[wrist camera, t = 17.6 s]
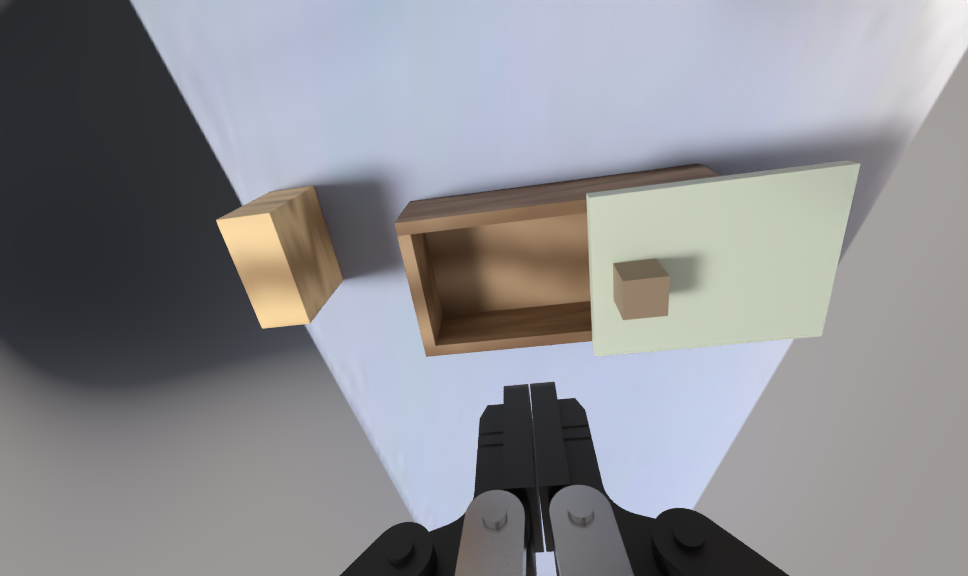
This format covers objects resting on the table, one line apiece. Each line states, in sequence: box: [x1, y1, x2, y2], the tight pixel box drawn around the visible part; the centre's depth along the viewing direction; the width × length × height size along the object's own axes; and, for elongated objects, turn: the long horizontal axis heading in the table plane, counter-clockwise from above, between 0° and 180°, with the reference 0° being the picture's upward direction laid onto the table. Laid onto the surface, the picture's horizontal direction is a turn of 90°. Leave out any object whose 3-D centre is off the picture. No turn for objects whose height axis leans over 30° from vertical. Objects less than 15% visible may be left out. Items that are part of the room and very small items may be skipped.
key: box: [216, 186, 343, 328], centre depth 36 cm, size 9×4×8 cm, turn 8°
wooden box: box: [394, 164, 723, 357], centre depth 37 cm, size 12×24×6 cm, turn 98°
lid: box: [586, 160, 861, 357], centre depth 31 cm, size 13×17×4 cm
